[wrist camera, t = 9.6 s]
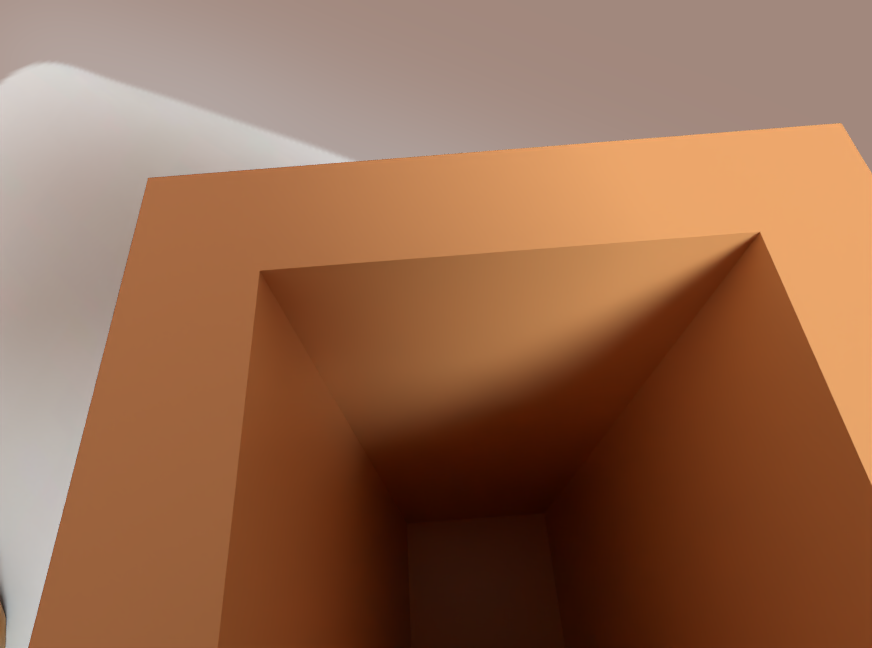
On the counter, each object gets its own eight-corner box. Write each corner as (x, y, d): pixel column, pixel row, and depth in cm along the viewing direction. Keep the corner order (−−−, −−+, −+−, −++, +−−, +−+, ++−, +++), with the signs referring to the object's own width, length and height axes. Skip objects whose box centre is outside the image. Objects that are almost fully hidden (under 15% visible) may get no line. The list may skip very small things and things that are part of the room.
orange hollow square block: (614, 722, 13) (1604, 1388, 2) (374, 739, 13) (-190, 1499, 2) (570, 478, 15) (841, 121, 4) (372, 493, 15) (148, 178, 4)
